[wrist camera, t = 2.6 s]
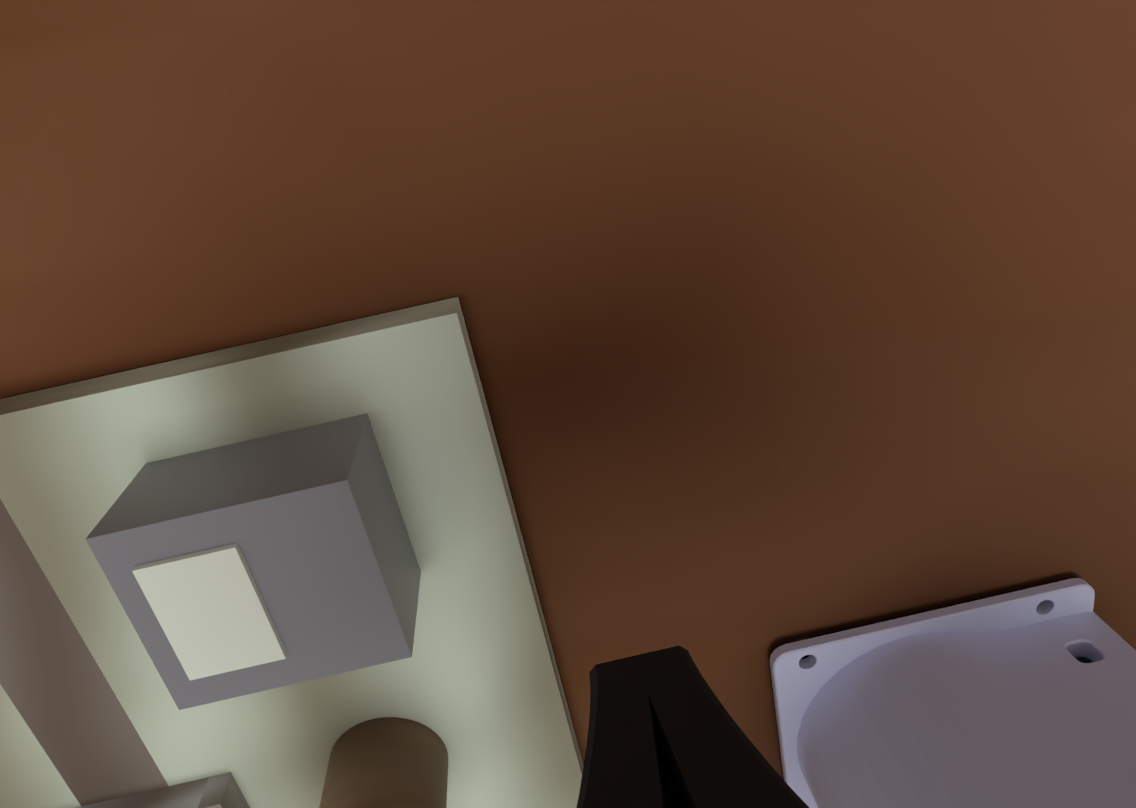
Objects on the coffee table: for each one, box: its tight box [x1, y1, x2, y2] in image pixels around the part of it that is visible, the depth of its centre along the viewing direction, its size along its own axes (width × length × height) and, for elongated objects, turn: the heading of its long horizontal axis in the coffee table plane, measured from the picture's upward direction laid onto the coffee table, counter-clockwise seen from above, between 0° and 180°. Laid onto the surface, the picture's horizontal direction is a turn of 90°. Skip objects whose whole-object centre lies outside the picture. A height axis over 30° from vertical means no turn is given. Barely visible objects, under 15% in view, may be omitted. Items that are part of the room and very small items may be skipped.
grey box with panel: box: [86, 414, 421, 710], centre depth 17 cm, size 5×4×3 cm
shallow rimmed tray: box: [0, 297, 584, 808], centre depth 21 cm, size 16×20×2 cm
